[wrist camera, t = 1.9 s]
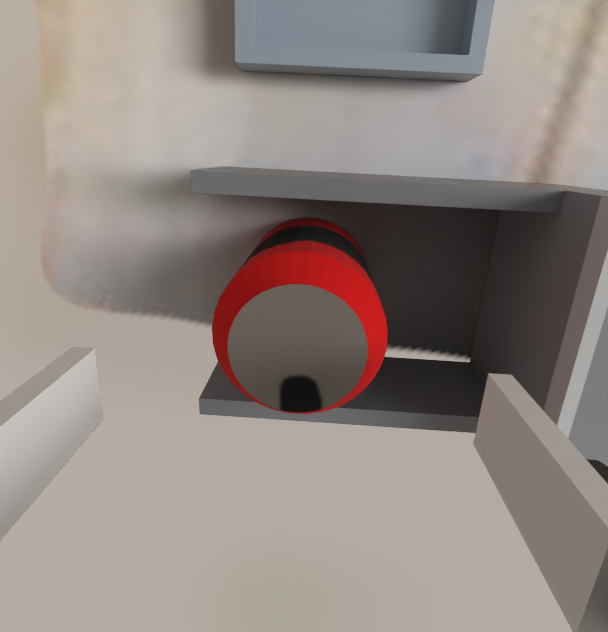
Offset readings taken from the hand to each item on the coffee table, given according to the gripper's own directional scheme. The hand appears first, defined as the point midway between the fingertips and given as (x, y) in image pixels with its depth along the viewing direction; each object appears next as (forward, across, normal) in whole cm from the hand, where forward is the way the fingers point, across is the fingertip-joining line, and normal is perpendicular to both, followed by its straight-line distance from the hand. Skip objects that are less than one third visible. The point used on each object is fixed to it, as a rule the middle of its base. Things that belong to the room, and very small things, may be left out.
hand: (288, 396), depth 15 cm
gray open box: (+15, +5, 0) cm, 16 cm away
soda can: (+15, 0, 0) cm, 15 cm away
